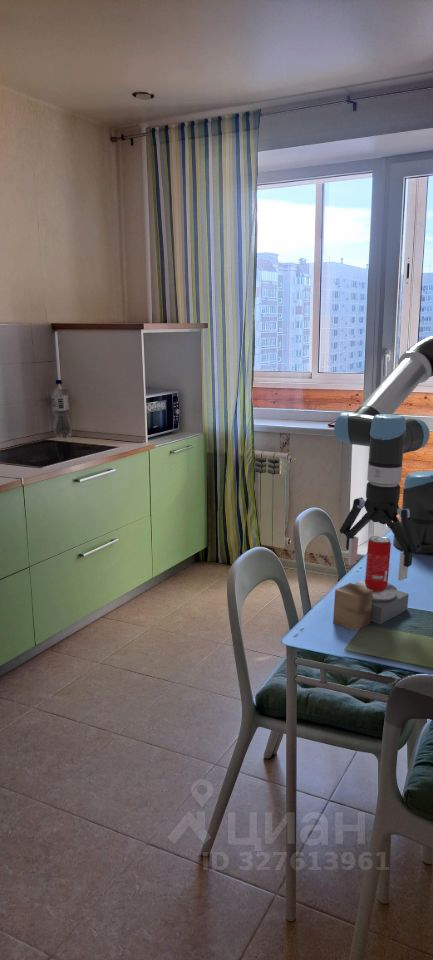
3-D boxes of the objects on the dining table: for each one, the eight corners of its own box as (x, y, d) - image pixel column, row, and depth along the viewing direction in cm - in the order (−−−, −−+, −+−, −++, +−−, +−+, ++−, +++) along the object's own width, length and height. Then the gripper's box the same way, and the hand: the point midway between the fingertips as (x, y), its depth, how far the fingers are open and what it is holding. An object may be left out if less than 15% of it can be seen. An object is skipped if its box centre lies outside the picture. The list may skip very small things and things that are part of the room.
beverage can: (361, 589, 164) (365, 540, 162) (368, 582, 169) (371, 534, 166) (383, 593, 162) (387, 543, 159) (389, 586, 166) (393, 538, 164)
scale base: (367, 596, 174) (368, 581, 174) (407, 609, 167) (408, 593, 166) (338, 610, 166) (339, 594, 165) (379, 625, 158) (380, 608, 157)
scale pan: (368, 582, 172) (368, 577, 172) (404, 594, 166) (405, 588, 165) (345, 593, 165) (345, 587, 165) (382, 606, 159) (382, 599, 158)
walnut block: (348, 615, 163) (350, 582, 161) (370, 623, 159) (372, 590, 157) (333, 622, 159) (335, 589, 157) (355, 631, 155) (358, 597, 153)
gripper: (328, 476, 165) (323, 561, 170) (425, 496, 148) (417, 590, 153) (346, 471, 170) (341, 554, 175) (442, 490, 154) (433, 581, 158)
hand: (376, 571), depth 164 cm, fingers open, 13 cm apart
